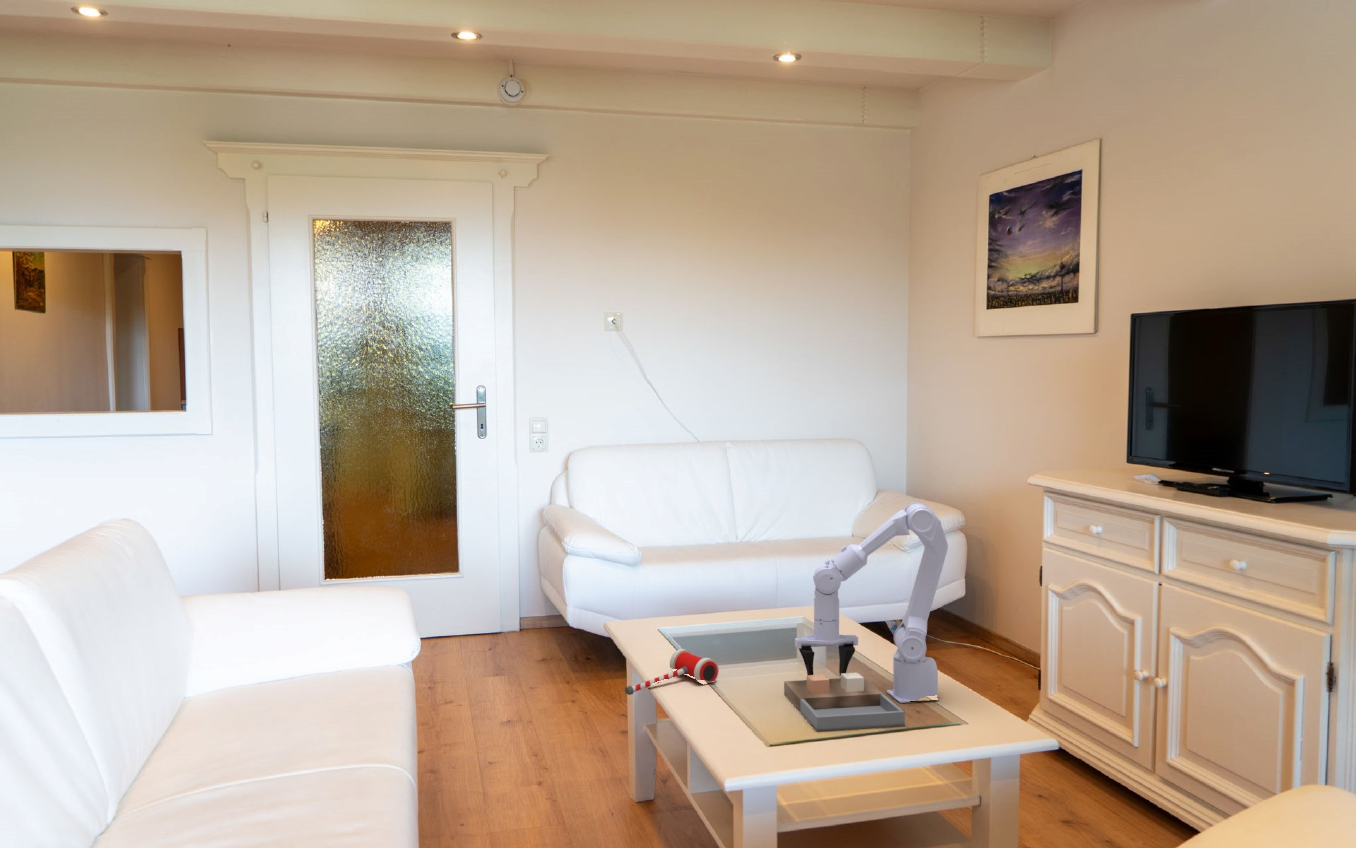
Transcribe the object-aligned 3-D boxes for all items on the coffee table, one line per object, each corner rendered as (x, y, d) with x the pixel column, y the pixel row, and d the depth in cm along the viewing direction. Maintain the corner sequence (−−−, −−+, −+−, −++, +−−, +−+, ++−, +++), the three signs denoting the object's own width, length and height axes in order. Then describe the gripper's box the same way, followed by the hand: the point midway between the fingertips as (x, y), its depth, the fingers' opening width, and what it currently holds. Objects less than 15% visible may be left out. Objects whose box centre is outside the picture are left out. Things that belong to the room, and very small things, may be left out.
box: (883, 707, 213) (883, 694, 213) (904, 726, 201) (904, 712, 201) (800, 712, 210) (800, 699, 209) (816, 731, 198) (816, 717, 198)
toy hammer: (641, 702, 218) (641, 674, 218) (613, 689, 227) (612, 662, 227) (719, 683, 232) (719, 657, 231) (689, 672, 241) (689, 646, 241)
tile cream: (857, 685, 219) (857, 672, 219) (863, 691, 215) (863, 677, 215) (840, 686, 218) (840, 673, 218) (846, 692, 214) (846, 678, 214)
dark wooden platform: (862, 689, 225) (862, 677, 225) (883, 707, 213) (883, 693, 213) (784, 694, 222) (784, 681, 222) (799, 712, 210) (799, 698, 210)
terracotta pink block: (823, 687, 217) (823, 674, 217) (829, 693, 213) (829, 679, 213) (806, 688, 217) (806, 675, 217) (812, 694, 213) (812, 680, 213)
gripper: (850, 613, 226) (850, 670, 227) (791, 615, 224) (791, 673, 225) (861, 620, 219) (861, 679, 220) (799, 623, 217) (799, 683, 218)
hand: (826, 677), depth 222 cm, fingers open, 7 cm apart
